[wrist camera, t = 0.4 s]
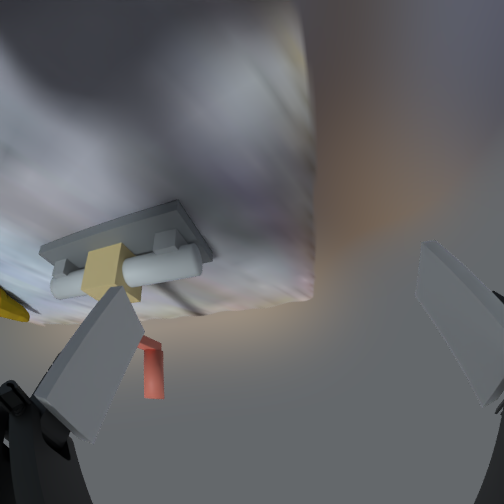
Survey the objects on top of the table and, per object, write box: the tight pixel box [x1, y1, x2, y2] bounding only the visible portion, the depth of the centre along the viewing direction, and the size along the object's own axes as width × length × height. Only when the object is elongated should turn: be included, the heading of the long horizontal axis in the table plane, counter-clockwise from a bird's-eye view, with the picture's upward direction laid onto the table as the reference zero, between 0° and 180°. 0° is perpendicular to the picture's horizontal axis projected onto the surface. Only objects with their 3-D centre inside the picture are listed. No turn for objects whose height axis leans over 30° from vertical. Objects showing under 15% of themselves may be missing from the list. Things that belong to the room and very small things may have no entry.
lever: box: [137, 335, 164, 399], centre depth 33 cm, size 15×3×9 cm, turn 13°
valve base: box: [39, 200, 212, 303], centre depth 34 cm, size 12×26×11 cm, turn 103°
